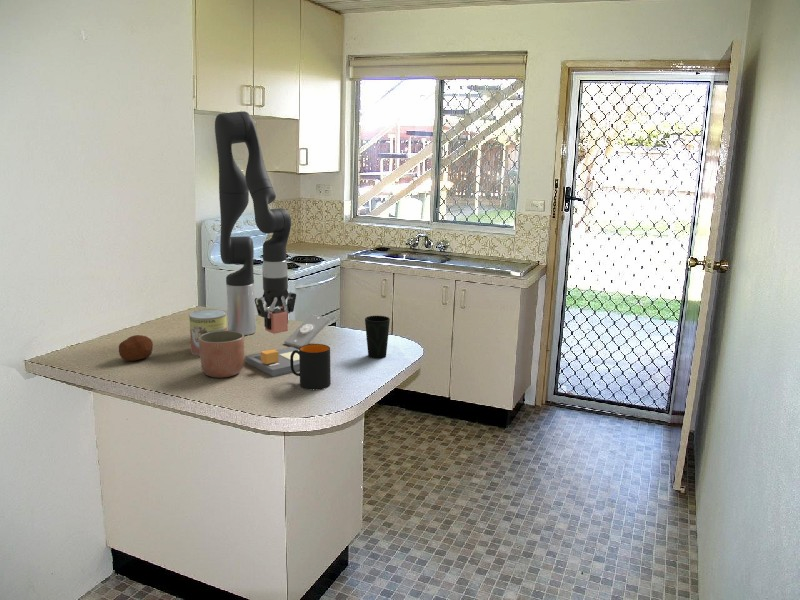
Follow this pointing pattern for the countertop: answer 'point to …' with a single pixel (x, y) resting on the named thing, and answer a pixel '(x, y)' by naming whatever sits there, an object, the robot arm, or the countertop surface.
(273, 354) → the orange rectangular prism
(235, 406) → the countertop surface
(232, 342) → the pink terracotta mug
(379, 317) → the cup
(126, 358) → the potato
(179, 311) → the countertop surface
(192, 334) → the canned food
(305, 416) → the countertop surface
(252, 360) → the panel
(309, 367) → the mug
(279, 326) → the pink square block
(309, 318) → the light switch
